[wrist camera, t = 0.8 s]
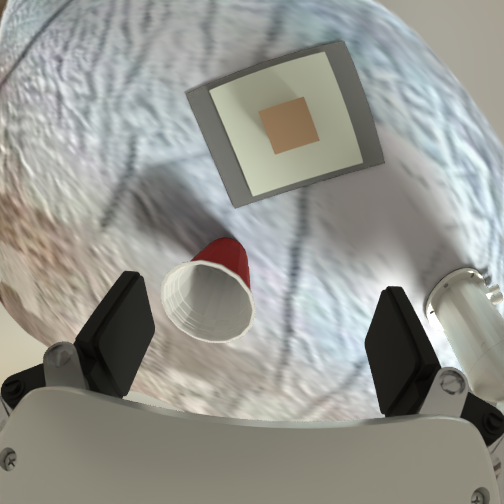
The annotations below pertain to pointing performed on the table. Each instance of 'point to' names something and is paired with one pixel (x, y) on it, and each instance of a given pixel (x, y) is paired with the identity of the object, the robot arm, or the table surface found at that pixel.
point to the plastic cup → (211, 293)
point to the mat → (243, 196)
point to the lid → (287, 123)
